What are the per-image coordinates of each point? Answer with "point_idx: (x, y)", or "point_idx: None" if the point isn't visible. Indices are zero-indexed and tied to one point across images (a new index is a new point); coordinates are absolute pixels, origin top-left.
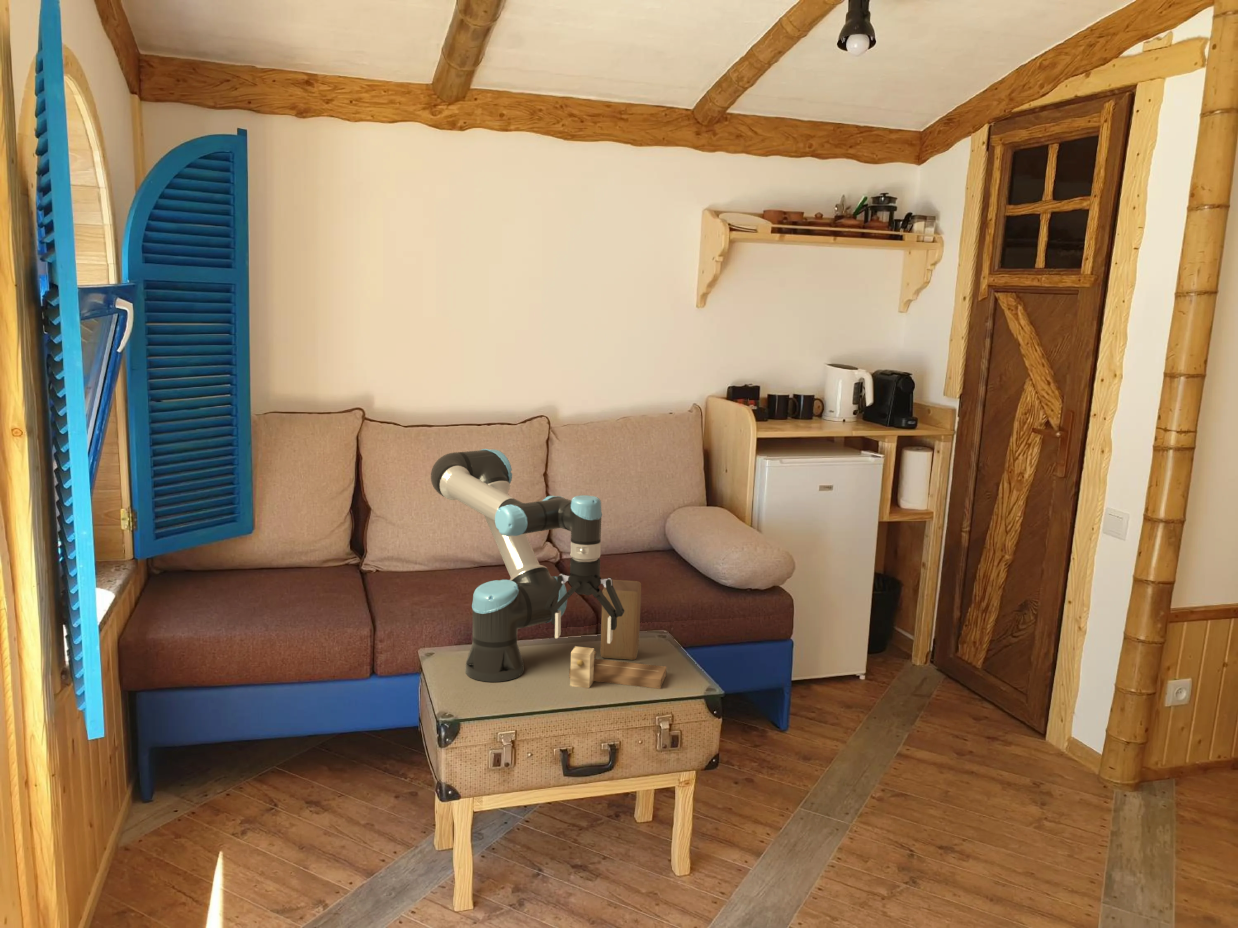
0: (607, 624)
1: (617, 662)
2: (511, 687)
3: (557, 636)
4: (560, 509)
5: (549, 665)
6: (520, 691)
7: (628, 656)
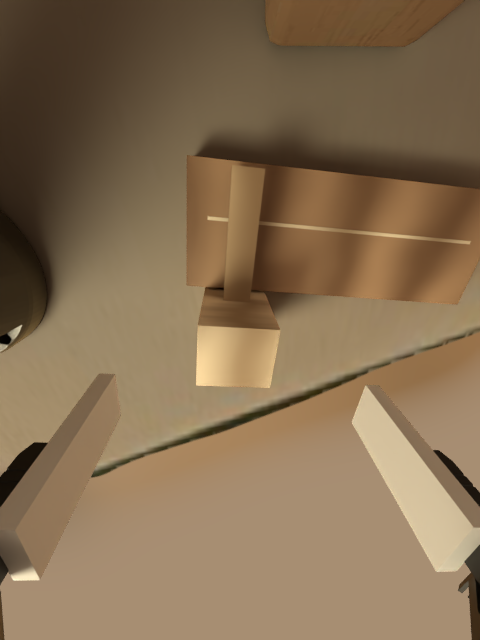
0: None
1: (342, 188)
2: (66, 361)
3: (116, 422)
4: None
5: (94, 181)
6: None
7: (389, 43)
